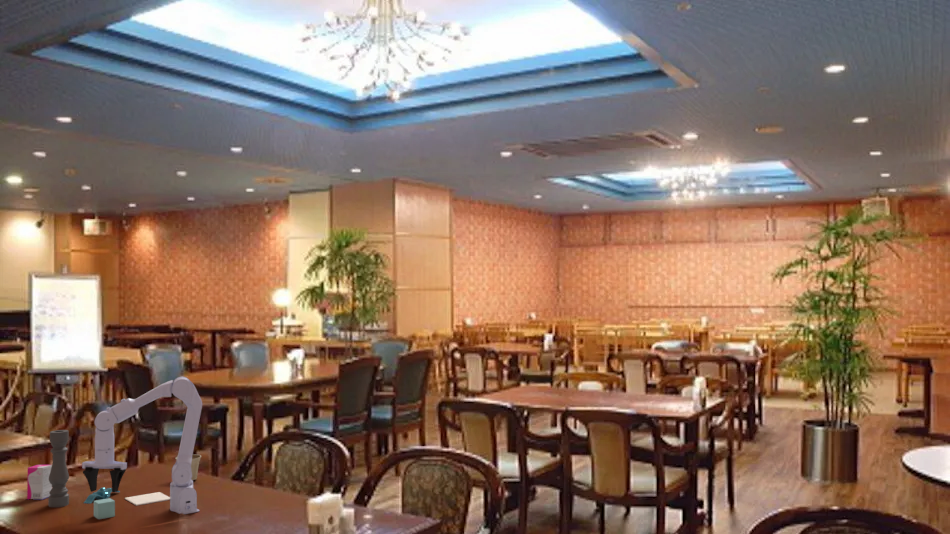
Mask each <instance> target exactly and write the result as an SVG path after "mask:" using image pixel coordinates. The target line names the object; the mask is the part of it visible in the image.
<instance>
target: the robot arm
mask: <svg viewBox="0 0 950 534" xmlns="http://www.w3.org/2000/svg"><path fill="white" fill-rule="evenodd" d="M172 394H173V396H174V397H175V398H177V399H179V400H180V401H182V403H183V404H184V405H185V406H186V407H187V409H186V414H185V419H184V422H183V423H184V424H183V429H182V433H181V438H180V444H179V448H178V449H179V450H178V454H177V456H176V457H177V460H175V463H174V464H173V466H172V468H171V482H170V484H169V497H170V500H169V511H171V512H175V513H177V514H180V515H181V514H183V515H187V514H193V513H194V514H195V513H199V512H200V509H198V503H197V501H198V498H197V497H198V495H197V491H196V489H195V488H194V480H191V478H192V472H191V463H192V455H193V454H194V448H195V445H196V439H197V434H198V430H199V429H198V428H199V424H200V423H199V422H200V418H201V415H202V409H203V400H202V398H201V396H200V395H199V392H198V390H197V388H196V386H195V384H194V383H193V381H191V380H190V379H189V378H188V377H186V376H178V377H176V378H174V380H173V379H171V380H168V381H166V382H163V383H161V384H159V385H157V386H156V387H154V388H153V389H150V390H149V391H146V393H144V394H141V395H140V396H138V397H137V398H130V397H128V398H126V399H125V398H122V399H121V400H120V402H118V403H116V404H114V405H113V406H111V407H110V406H108V407H106V410H102V411H100V412H99V413H97V415H96V417H95V418H94V426H95V435H94V460H93V461H92V460H91V461H90V460H89V461H86V460H85V461H83V462H81V463H82V464H81V467H82V468H81V469H82V473H83V475H84V477H85V478H86V481H87V483H88V486H89V490H90V492H91V493H93V492H94V491H95V492H96V491H97V490H98V475H99V471H100V469H101V470H104V469H107V470H110V471H109V474H110V478H111V479H110V480H111V488H112V492H111V493H118V492H117V491H119V487H120V483H121V481H122V479H123V476H124V474H125V473H126V472H127V470H126V469H127V468H128V462H123V461H116V460H115V432H114V429H115V427H114V426H115V424H120V423H122V422H124V421H125V420H128V419H129V418H131V417H133V416H135V415H137V414H138V412H139V409H140V408H142V407H144V406H145V405H146V406H147V405H148V404H149V403H152V402H153V401H155V400H158V399H160V398H162V397H166V398H167V397H169V398H171V397H172Z"/></svg>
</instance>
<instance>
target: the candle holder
mask: <svg viewBox="0 0 950 534" xmlns="http://www.w3.org/2000/svg"><path fill="white" fill-rule="evenodd" d="M69 432H70V431H69V430H68V429H58V430H57V429H56V430H52V431H49V442H50V445H51V447H52V448H51V449H50V453H51V454H52V463H51V465H52V467H51V471H50V475H49V482H50V484H52V489H51V491H50V492H49V494H50V496H49V497H48V498H47V500H48V501H47V503H48V504H47V505H48V507H49V508H62V507H63V508H64V507H67V506H68V505H69V504H70V494H69V493H68V492H69V489H68V488H67V487H66V485H67V482H68V481H69V478H70V475H69V470H68V466H67V463H66V453H67V451H68V447H66V446H67V444H68V443H69V442H68V441H69V439H70V437H69V434H70V433H69Z"/></svg>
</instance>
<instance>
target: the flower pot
mask: <svg viewBox="0 0 950 534" xmlns="http://www.w3.org/2000/svg"><path fill="white" fill-rule="evenodd" d="M201 458H202V455H201V454H194V453H193V455H192V463H191V472H192V478H191V480H193V481H194V480H197V478H198V473H199V472H198V471H199V465H200V461H201ZM175 461H177V456H176V457H175Z"/></svg>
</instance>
